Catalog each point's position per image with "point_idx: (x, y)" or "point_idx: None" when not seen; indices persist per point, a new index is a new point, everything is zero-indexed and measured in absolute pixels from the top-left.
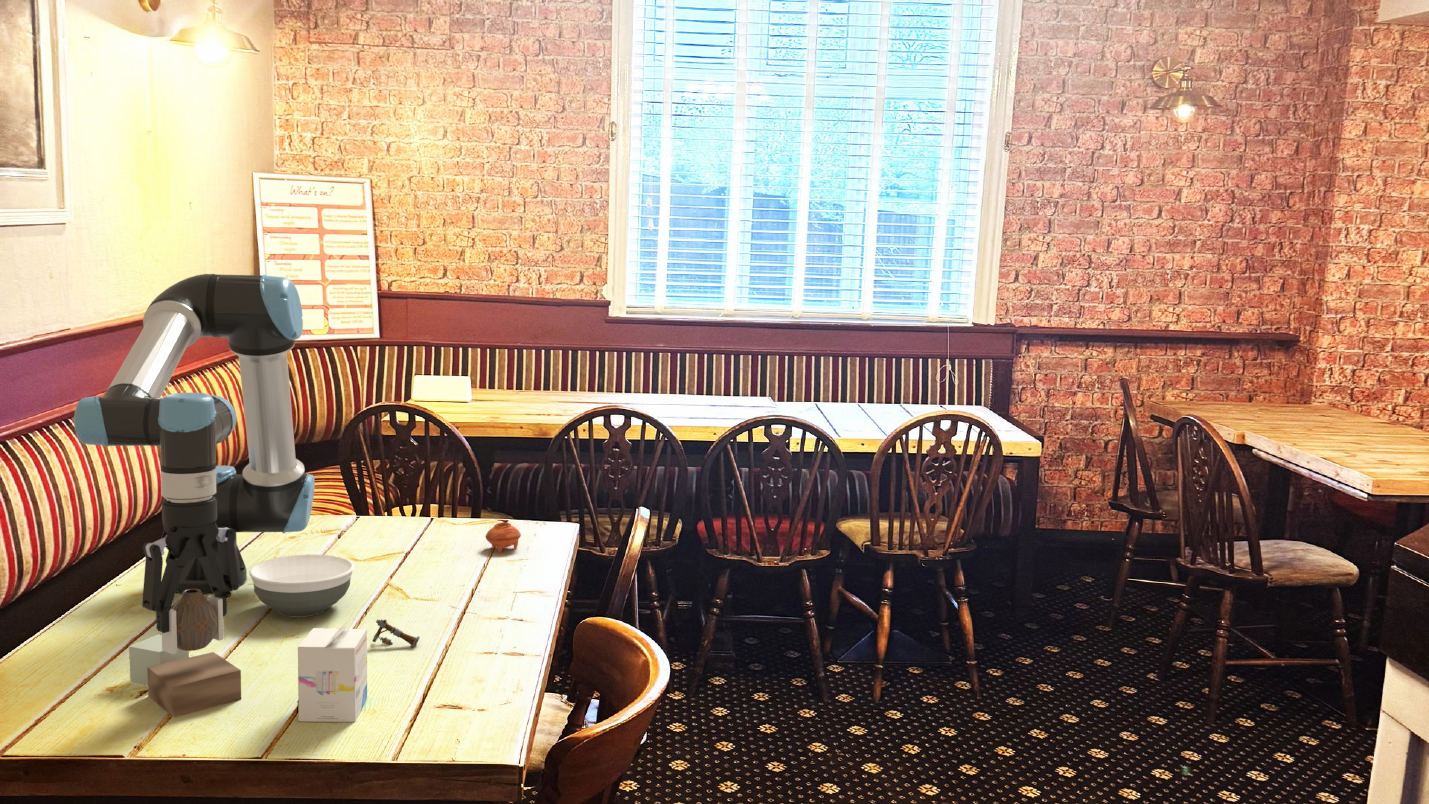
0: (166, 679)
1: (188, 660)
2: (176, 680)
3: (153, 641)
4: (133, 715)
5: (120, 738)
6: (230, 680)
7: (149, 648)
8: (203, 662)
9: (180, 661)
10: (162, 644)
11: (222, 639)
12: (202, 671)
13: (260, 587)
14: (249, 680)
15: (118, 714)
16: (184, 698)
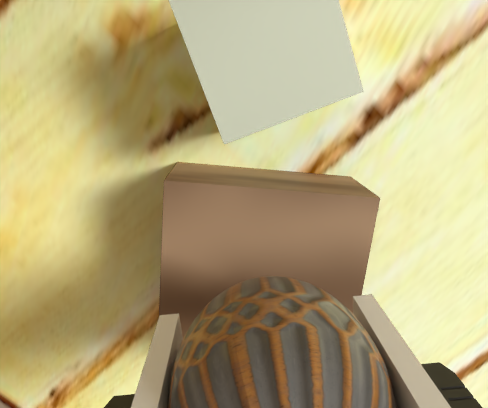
0: (165, 311)
1: (285, 214)
2: (183, 334)
3: (261, 7)
4: (104, 248)
5: (40, 341)
6: None
7: (214, 78)
8: (307, 261)
9: (263, 204)
10: (156, 330)
11: None
12: None
13: None
14: (406, 239)
15: (78, 218)
16: None
